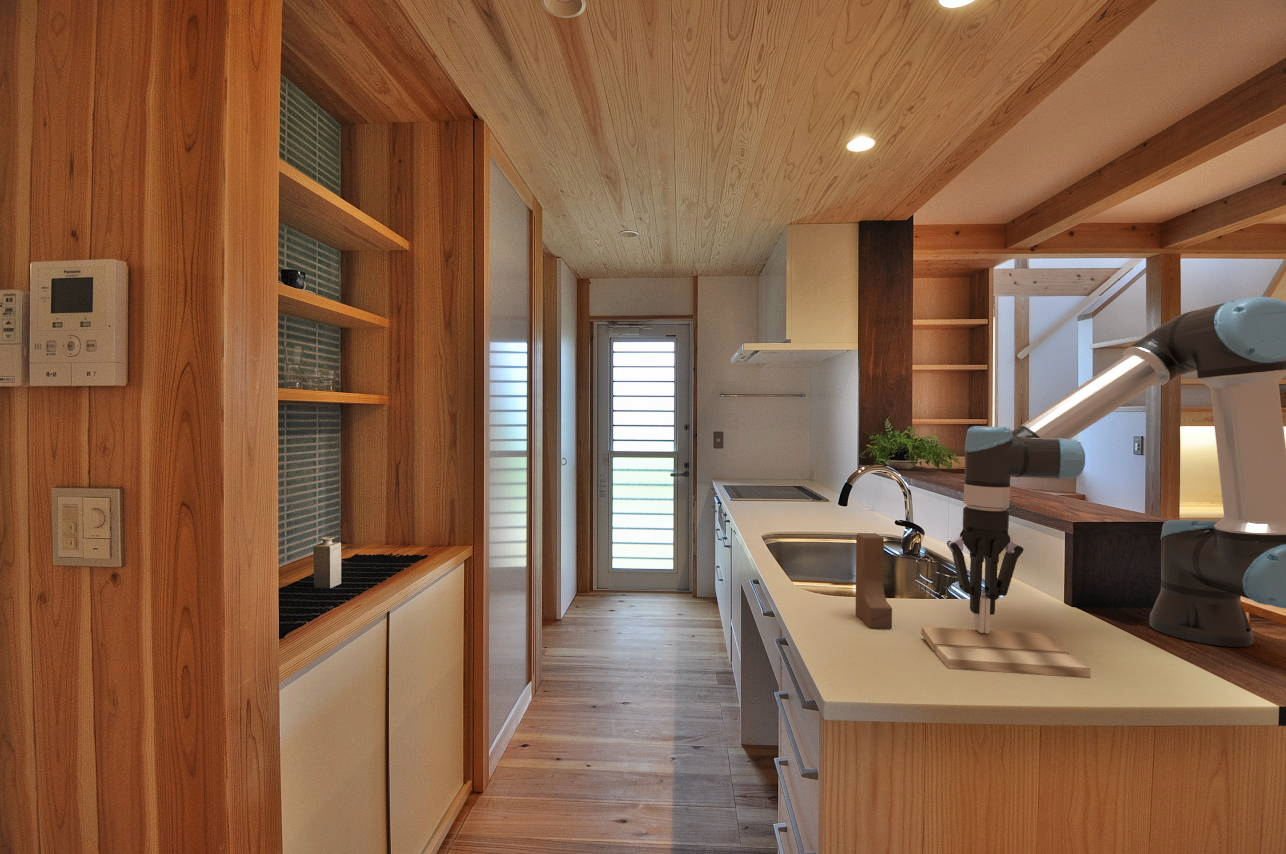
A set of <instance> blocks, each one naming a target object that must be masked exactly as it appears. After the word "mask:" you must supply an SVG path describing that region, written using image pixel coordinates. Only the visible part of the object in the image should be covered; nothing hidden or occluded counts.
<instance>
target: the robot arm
mask: <svg viewBox="0 0 1286 854" xmlns="http://www.w3.org/2000/svg"><path fill="white" fill-rule="evenodd" d="M1194 372H1196V373H1197V375H1196V376H1197V381H1198V382H1200V383H1202V384H1204V385H1206V386H1207V387H1208V388H1209V390H1210V397H1211V405H1212V413H1213V414H1212V416H1213V426H1214V433H1215V434H1214V435H1215V436H1214V437H1215V443H1216V452H1217V463H1218V471H1219V472H1218V473H1219V481H1220V482H1219V483H1220V491H1221V500H1222V510H1223V517H1222V518H1220V520H1197V519H1196V520H1193V519H1192V520H1189V519H1169V520H1166V521H1164V522H1163V524H1162V527H1161V534H1160V541H1161V543H1160V545H1161V548H1160V549H1161V551H1160V553H1161V559H1160V560H1161V562H1160V564H1161V565H1160V570H1161V571H1160V576H1161V577H1160V578H1161V579H1160V580H1161V581H1160V590H1159V591H1160V592H1159V594H1158V597H1157V598H1156V600H1155V602H1154V605H1153V608H1152V610H1151V611H1150V613H1149V626H1150V627H1151V628H1152V629H1153V630H1155V631H1157V632H1159V633H1163V634H1165V635H1166V636H1167V635H1168V636H1171V637H1173V638H1174V637H1175V638H1178V639H1181V640H1186V641H1189V642H1195V643H1199V644H1205V645H1211V646H1217V647H1218V646H1220V647H1226V648H1227V647H1229V648H1230V647H1231V648H1244V647H1251V646H1252V645H1253V644H1254V631H1253V629H1252V627H1251V624H1250V622H1249V619H1248V617H1247V614H1246V612H1245V609H1244V606H1243V605H1242V599H1241V598H1242V597H1243V598H1244V599H1248V600H1251V601H1253V602H1255V603H1257V604H1260V605H1264V606H1265V605H1266V606H1272V607H1277V608H1279V609H1286V440H1285V439H1286V438H1285V430H1284V419H1283V410H1282V401H1281V394H1280V384H1279V382H1280V381H1281V380H1282V379H1283V378H1284V377H1285V376H1286V302H1285V300H1282V299H1279V298H1276V297H1270V296H1254V297H1247V298H1246V297H1245V298H1238V299H1234V300H1229V301H1227V302H1224V303H1220V304H1216V305H1213V306H1212V305H1211V306H1208V307H1204V308H1201V309H1196V310H1191V311H1188V312H1185V313H1182V314H1180V315H1177V316H1176V317H1173V318H1172V319H1170V320H1168V321H1166V322H1165V323H1163V324H1162V325H1160V326H1158V327H1157V328H1156V329H1154V330H1152V331H1151V332H1150V333H1148V334H1147V335H1145V336H1144V337H1142V338H1141V339H1139V340H1137V341H1136V342H1135V343H1133V344H1132V345H1130V346H1129V347H1127V348H1126V349H1125V350H1124V351H1123V352H1122V358H1120V359H1118V360H1117V361H1115V362H1113V364H1111V365H1110V366H1108V367H1107V368H1105V369H1104V370H1102V371H1100V372H1099V373H1097V374H1096V375H1094V376H1093V377H1092V378H1090V379H1088V380H1087V381H1085V382H1084V383H1082V384H1081V385H1080V386H1078V387H1076V388H1075V389H1074V390H1072V391H1070V392H1069V393H1068V394H1066V395H1064V396H1063V397H1062V398H1059V400H1057V401H1055V402H1054V403H1052V404H1051V405H1050V406H1048V407H1046V408H1045V409H1044V410H1042V411H1040V412H1039V413H1038V414H1036V415H1035V416H1032V418H1030V419H1028V420H1026V422H1024V423H1023V424H1021V425H1020V426H1018V427H1016V428H1014V429H1013V430H1012V428H1010V427H1008V426H1006V427H1005V426H985V425H984V426H982V425H981V426H980V425H979V426H978V425H974V426H970V427H969V428H968V429H967V431H966V436H965V445H964V480H963V481H964V482H963V483H964V485H963V503H964V505H966V506H964V507H963V511H962V530H961V532H960V534H959V537H958V538H956V539H954V540H948V541H947V542H946V545H947V547H948V548H949V550H950V552H951V553H952V554H951V555H952V558H953V563H954V567H955V573H956V577H957V581H958V586H959V589H960V590H961V591H962V592H964V593H965V594H967V595H969V610H970V612H971V613H973V614H974V619H973V621H974V622H973V628H974V630H977V631H979V632H980V633H989V630H990V620H991V619H990V618H991V617H990V616H991V615H992V616H993V615H995V612H996V600H998V599H999V597H1001V596H1003V597H1006V596H1007V594H1008V591H1009V588H1010V585H1011V582H1012V578H1013V575H1014V571H1015V568H1016V564H1017V561H1018V559H1019V557H1020V556H1021V555H1022V554H1023V552H1024V551H1025V548H1023V547H1022V546H1021V545H1019V544H1016V543H1014V542H1013V541H1012V540H1011V536H1010V535H1009V525H1010V524H1009V523H1010V522H1009V520H1010V512H1009V510H1008V508H1009V507H1010V502H1011V500H1010V499H1011V498H1010V497H1011V496H1010V495H1011V494H1010V493H1011V478H1034V479H1054V480H1055V479H1056V480H1063V479H1067V480H1069V479H1075V478H1078V477H1079V476H1080V475H1081V474H1082V473H1083V472H1084V469H1085V466H1086V453H1085V449H1084V447H1083V445H1082V444H1081V443H1080V442H1079V441H1077V440H1076V439H1072V438H1074V437H1076V436H1077V435H1079V434H1080V433H1082V432H1084V431H1085V430H1087V429H1088V428H1089V427H1091V426H1093V425H1094V424H1096V423H1097V422H1099V421H1101V420H1102V419H1103V418H1104V417H1105V418H1106V416H1108V415H1109V414H1110V413H1113V412H1115V411H1116V410H1118V409H1119V408H1121V407H1122V406H1124V404H1125V405H1126V403H1128V402H1130V401H1131V400H1132V399H1134V398H1136V397H1137V396H1139V395H1140V394H1142V393H1144V392H1145V391H1147V390H1148V389H1150V388H1151V387H1153V386H1154V387H1155V386H1157V387H1160V386H1163V385H1166V384H1167V383H1169V382H1171V381H1172V380H1173V379H1176V378H1178V377H1181V376H1182V375H1183V376H1184V375H1185V374H1189V373H1194ZM964 546H965V548H966V549H967V550H968V551H969V558H970V566H969V567H970V568H969V574H968V570H967V569H968V568H967V564H966V560H965V556H964V553H963V550H964ZM1004 550H1005V553H1004V555H1003V558H1002V562H1001V565H1000V569H999V572H998V564H999V562H1000V555H1001V553H1002V552H1003V551H1004ZM983 563H984V566H983ZM983 567H984V594H982V587H983V586H982V583H983Z"/></svg>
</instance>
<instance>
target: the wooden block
mask: <svg viewBox="0 0 1286 854" xmlns="http://www.w3.org/2000/svg"><path fill="white" fill-rule="evenodd" d="M855 536H856V541H855V542H856V544H855V547H856V549H855V552H856V553H855V556H856V557H855V558H856V559H855V615H856V617H858V618H859V620H861V621H862V622H863V623H864V624H865V625H866V626H868V627H869V629H872V630H873V629H874V630H875V629H876V630H879V629H880V630H881V629H884V630H891V629H892V628H893V608H892V606H891V604H889V602H887V599H886V595H885V587H884V568H885V567H884V561H885V560H884V557H885V556H884V555H885V552H884V551H885V550H884V549H885V548H884V547H885V544H884V543H885V539H884V537H883V536H881V535H879V534H878V533H868V532H867V533H862V532H859V533H856V535H855Z"/></svg>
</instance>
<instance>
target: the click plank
mask: <svg viewBox="0 0 1286 854" xmlns="http://www.w3.org/2000/svg"><path fill="white" fill-rule="evenodd" d="M921 636H922V637H923V639H925V641H926V643H927V644H928V645H929V646H930V647H929V648H931V649H932V651H933V653H935V645H950V646H966V647H983V648H999V649H1016V650H1032V651H1049V652H1065V653H1067V652H1066V650H1064V648H1062V647H1061V646H1060V645H1059V644H1057V643H1056V642H1055V641H1054V640H1053V639H1052V638H1050V637H1049V636H1048V635H1047V634H1046V633H1043V632H1042V633H1040V632H1039V633H1038V632H1024V631H1023V632H1020V631H1006V630H1004V631H1003V630H990V629H989V633H980V632H979V631H977V630H976V629H967V628H952V627H935V626H921Z"/></svg>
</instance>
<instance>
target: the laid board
mask: <svg viewBox="0 0 1286 854" xmlns="http://www.w3.org/2000/svg"><path fill="white" fill-rule="evenodd" d="M1065 652H1066V651H1065ZM1065 652H1049V651H1032V650H1016V649H999V648H983V647H966V646H950V645H935V652H934V653H935V655H936V656H937V657H938V658H939V660H940V661H941V662H942V663H943V664H944V665H945V666H946V667H947V668H948V669H952V670H955V669H956V670H970V671H983V672H984V671H985V672H1000V673H1001V672H1002V673H1014V674H1015V673H1016V674H1027V675H1028V674H1031V675H1044V676H1045V675H1047V676H1062V677H1075V678H1076V677H1077V678H1090V679H1091V667H1090V666H1089V665H1087V664H1085V663H1083V662H1082V661H1081V660H1080V659H1077V658H1076V657H1074V656H1073V655H1072V654H1070V653H1069V652H1066V653H1065Z"/></svg>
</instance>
